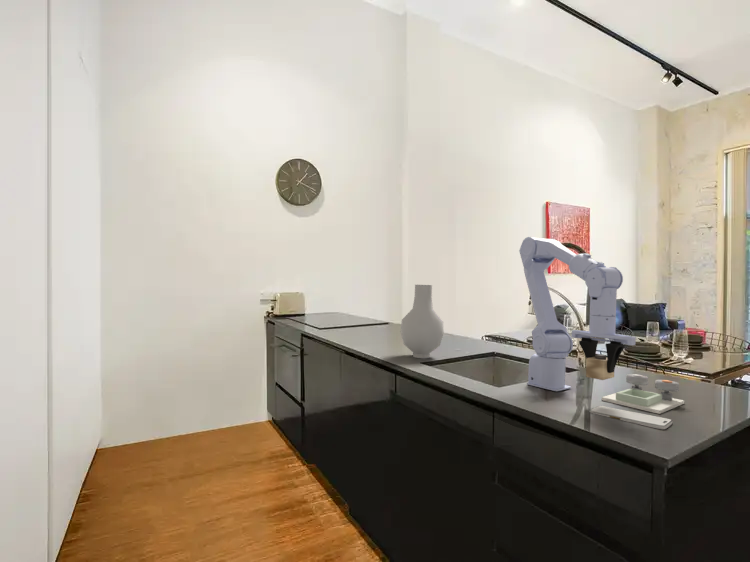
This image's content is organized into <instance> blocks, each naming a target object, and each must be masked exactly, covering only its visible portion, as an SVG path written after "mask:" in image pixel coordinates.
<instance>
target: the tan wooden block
mask: <svg viewBox="0 0 750 562" xmlns="http://www.w3.org/2000/svg"><path fill="white" fill-rule="evenodd" d="M585 359H586V360H585V361H586V363H585V364H586V365H585V377H586V378H588V379H589V378H590V379H595V380H599V381H605V380H608V379H612V378H615V371H614V372H612V373H608V372H607V354H606V355H605V354H599V353H598V354H597V353H596V355H595V357H591V358H586V357H585Z"/></svg>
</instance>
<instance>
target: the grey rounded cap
mask: <svg viewBox="0 0 750 562" xmlns="http://www.w3.org/2000/svg"><path fill="white" fill-rule="evenodd" d="M654 382H655V383H654V384H655V385H654V388H655V389H656V390H660V391H663V392H664V393H672V392H676V393H677V392H679V391H680V383H679V382H677V381H674V380H673V381H672V380H670V379H669V380H668V379H655V381H654Z"/></svg>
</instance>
